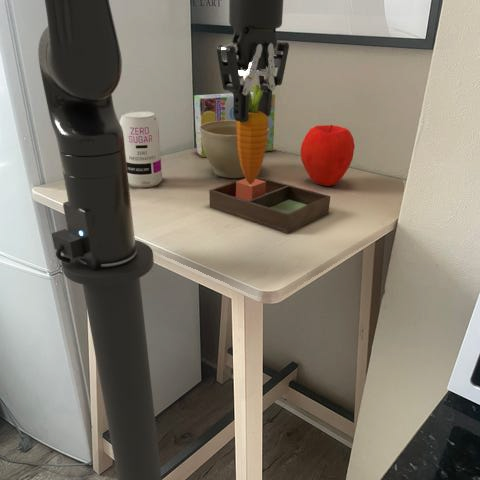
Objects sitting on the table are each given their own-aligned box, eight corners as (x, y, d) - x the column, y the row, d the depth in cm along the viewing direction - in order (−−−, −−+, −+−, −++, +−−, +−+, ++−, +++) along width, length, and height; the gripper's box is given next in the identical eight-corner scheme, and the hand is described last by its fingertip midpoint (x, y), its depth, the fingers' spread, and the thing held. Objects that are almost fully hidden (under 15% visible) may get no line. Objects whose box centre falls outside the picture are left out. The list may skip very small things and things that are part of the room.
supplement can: (150, 175, 120) (144, 109, 112) (169, 183, 115) (164, 115, 107) (120, 181, 116) (111, 113, 107) (138, 190, 110) (131, 119, 102)
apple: (293, 189, 113) (298, 127, 105) (303, 174, 122) (308, 117, 115) (345, 195, 110) (354, 132, 103) (351, 179, 119) (360, 121, 112)
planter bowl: (245, 188, 113) (246, 138, 107) (188, 175, 120) (186, 128, 114) (278, 170, 125) (280, 125, 119) (224, 160, 132) (224, 117, 126)
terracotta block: (251, 205, 101) (252, 186, 99) (235, 200, 104) (235, 181, 102) (265, 200, 104) (266, 181, 102) (249, 195, 107) (249, 176, 104)
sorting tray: (287, 233, 92) (288, 215, 90) (209, 207, 103) (209, 190, 101) (328, 213, 101) (330, 196, 99) (253, 191, 111) (253, 175, 109)
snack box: (265, 146, 145) (267, 90, 136) (273, 151, 140) (276, 93, 132) (195, 152, 138) (193, 93, 130) (201, 158, 134) (200, 97, 125)
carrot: (248, 190, 80) (251, 89, 72) (229, 182, 83) (230, 84, 75) (271, 185, 83) (276, 86, 75) (251, 177, 86) (255, 82, 78)
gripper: (267, -12, 75) (262, 109, 84) (200, -15, 66) (202, 121, 75) (309, -11, 71) (298, 116, 80) (243, -15, 62) (240, 129, 71)
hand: (252, 118), depth 77 cm, fingers closed on carrot, 4 cm apart
